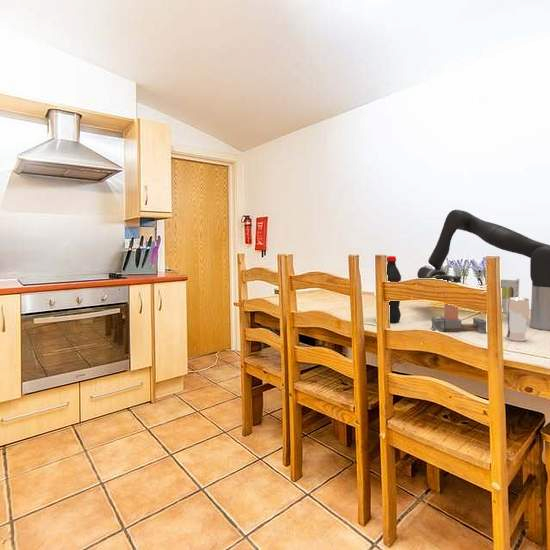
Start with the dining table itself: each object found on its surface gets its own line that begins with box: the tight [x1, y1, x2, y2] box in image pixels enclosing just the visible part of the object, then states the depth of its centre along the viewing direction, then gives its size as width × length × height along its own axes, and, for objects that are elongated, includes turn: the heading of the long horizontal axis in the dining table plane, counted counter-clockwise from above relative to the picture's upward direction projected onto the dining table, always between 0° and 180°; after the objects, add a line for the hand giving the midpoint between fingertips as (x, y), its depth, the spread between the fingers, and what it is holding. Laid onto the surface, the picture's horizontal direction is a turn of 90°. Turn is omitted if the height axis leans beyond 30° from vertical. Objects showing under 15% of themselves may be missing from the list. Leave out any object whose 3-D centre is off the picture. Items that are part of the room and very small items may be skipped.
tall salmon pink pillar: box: [440, 303, 462, 328], centre depth 144 cm, size 6×6×17 cm
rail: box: [431, 316, 487, 334], centre depth 144 cm, size 19×7×5 cm, turn 79°
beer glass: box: [505, 296, 530, 342], centre depth 130 cm, size 7×7×15 cm
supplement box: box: [500, 277, 520, 314], centre depth 178 cm, size 10×9×17 cm
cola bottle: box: [386, 255, 402, 324], centre depth 162 cm, size 8×8×30 cm
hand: (446, 280), depth 155 cm, fingers open, 8 cm apart
